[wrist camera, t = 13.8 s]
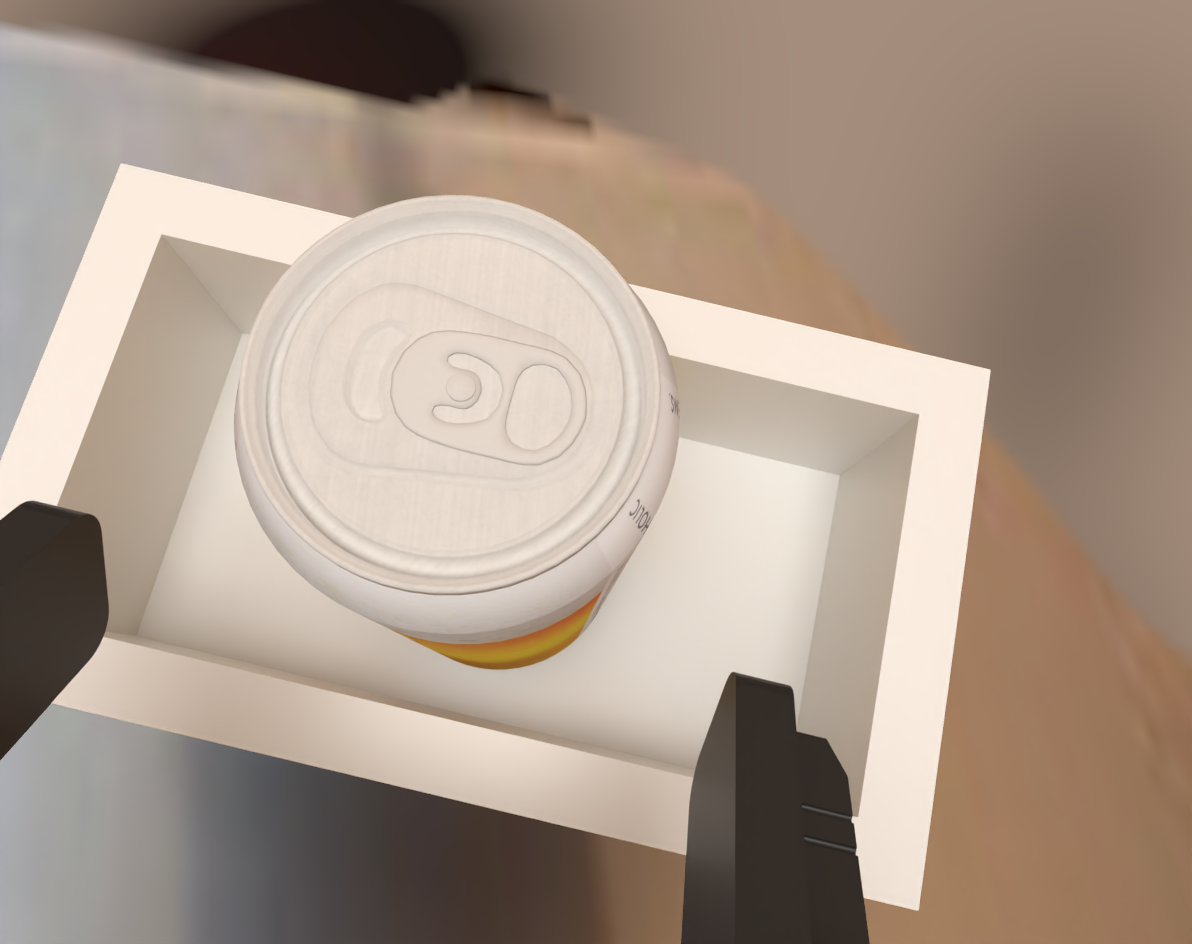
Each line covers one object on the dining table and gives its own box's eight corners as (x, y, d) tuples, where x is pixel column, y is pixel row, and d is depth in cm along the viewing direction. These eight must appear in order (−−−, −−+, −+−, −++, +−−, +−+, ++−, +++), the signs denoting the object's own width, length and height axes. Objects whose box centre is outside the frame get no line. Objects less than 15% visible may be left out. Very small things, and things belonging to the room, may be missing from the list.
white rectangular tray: (885, 448, 29) (990, 370, 22) (820, 856, 26) (918, 911, 19) (220, 290, 29) (121, 162, 22) (79, 679, 26) (-85, 671, 19)
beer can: (426, 434, 27) (290, 121, 13) (631, 482, 27) (733, 226, 13) (366, 641, 26) (133, 560, 11) (583, 693, 26) (635, 679, 11)
